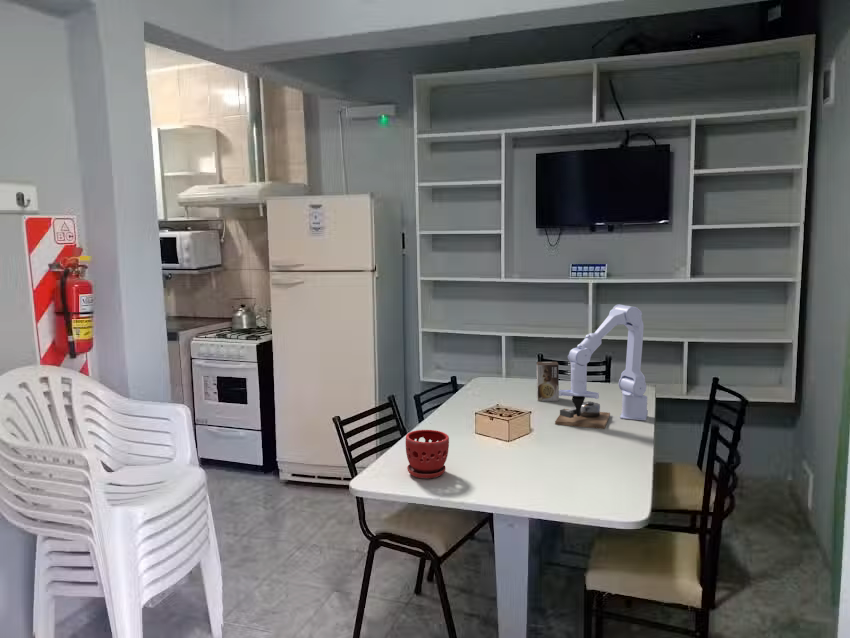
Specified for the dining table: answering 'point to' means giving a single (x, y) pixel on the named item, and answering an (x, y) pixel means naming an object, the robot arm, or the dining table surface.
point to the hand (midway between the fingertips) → (578, 415)
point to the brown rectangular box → (547, 381)
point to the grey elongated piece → (583, 410)
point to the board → (584, 421)
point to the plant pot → (427, 453)
